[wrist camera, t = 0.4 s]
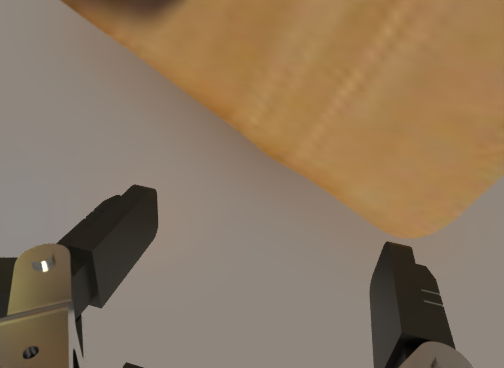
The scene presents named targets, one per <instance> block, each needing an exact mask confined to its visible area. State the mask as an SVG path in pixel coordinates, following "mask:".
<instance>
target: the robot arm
mask: <svg viewBox="0 0 504 368" xmlns="http://www.w3.org/2000/svg"><path fill="white" fill-rule="evenodd" d="M157 208H158V207H157V192H156V190H155V189H153V188H148V187H144V186H139V185H133V186H131V187H130V188H129V189H128V190H127V191H126V192H125V193H124V194H123V195H122V196H120V195H116V196H113V197H111V198H109V199H107V200H105V201H103V202H102V203H101V204H100V205H99V206H98V207H96V208H95V209H94V211H93V212H91V213H90V214H89V215H88V216H86V219H83V220H82V221H81V222H80V223H79V224H78V225H77V226H75V227H74V228H73V229H72V230H71V231H70V232H69V233H68V234H66V235H65V236H64V237H63V238H62V239H61V240H60V241H59V242H58V243H56V244H43V245H39V246H35V247H33V248H31V249H29V250H27V251H25V252H24V253H22V254H21V255H20V256H19V258H0V368H86V357H85V340H84V322H83V314H82V312H83V311H84V310H85V308H86V307H87V306H88V305H91V306H95V307H98V308H102V307H103V306H104V305H105V303H106V302H107V300H108V299H109V298H110V297H111V295H112V294H113V293H114V291H115V290H116V289H117V287H118V286H119V285H120V283H121V282H122V281H123V279H124V278H125V277H126V275H127V274H128V273H129V271H130V270H131V269H132V267H133V266H134V265H135V263H136V262H137V261H138V260H139V258H140V257H141V256H142V254H143V253H144V251H145V250H146V249H147V248H148V246H149V245H150V244H151V242H152V241H153V240H154V238H155V236H156V233H157V229H158V209H157ZM439 294H440V293H439V289H438V285H437V282H436V279H435V278H434V276H433V275H432V274H431V272H430V271H429V270H428V269H427V267H426V266H422V265H419V264H415V259H414V255H413V251H412V248H411V247H410V246H406V245H401V244H397V243H392V242H386V243H385V244H384V246H383V249H382V252H381V254H380V257H379V260H378V262H377V265H376V268H375V270H374V273H373V276H372V279H371V284H370V309H371V325H372V343H373V357H374V358H373V359H374V368H473V367H472V365H471V364H470V363H469V361H468V360H467V359H466V358H465V357H464V356H463V355H462V354H461V353H459V352H458V351H457V350H456V349H455V345H454V342H453V338H452V335H451V331H450V328H449V324H448V321H447V317H446V313H445V310H444V307H442V306H443V303H442V300H441V296H440V295H439ZM123 368H143V367H139V366H136V365H133V364H130V363H125V365H124V366H123Z"/></svg>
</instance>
